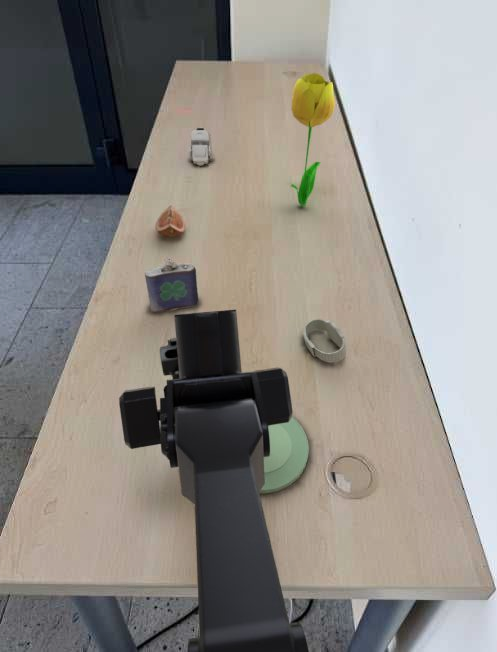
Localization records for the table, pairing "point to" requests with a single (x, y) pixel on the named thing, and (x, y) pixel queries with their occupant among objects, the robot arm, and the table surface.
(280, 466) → the plate
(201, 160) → the white toy car
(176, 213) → the fruit slice
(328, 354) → the wristwatch
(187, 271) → the flask
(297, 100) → the flower
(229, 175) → the table surface
